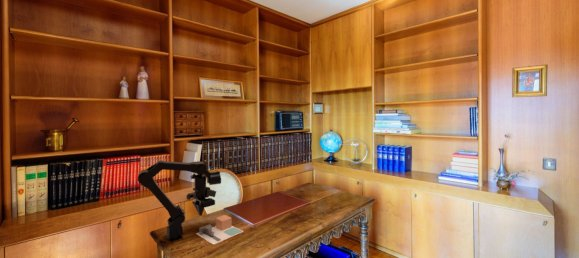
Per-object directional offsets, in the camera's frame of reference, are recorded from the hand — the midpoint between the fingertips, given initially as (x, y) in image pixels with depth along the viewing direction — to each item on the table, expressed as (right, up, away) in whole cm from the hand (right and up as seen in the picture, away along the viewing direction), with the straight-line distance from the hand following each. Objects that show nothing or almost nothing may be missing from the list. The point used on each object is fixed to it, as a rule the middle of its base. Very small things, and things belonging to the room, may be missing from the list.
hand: (200, 215), depth 136 cm
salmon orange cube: (+11, -8, +4) cm, 14 cm away
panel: (+11, -10, -2) cm, 15 cm away
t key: (+6, -8, -4) cm, 11 cm away
